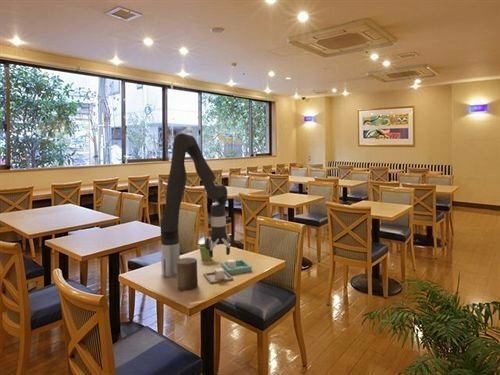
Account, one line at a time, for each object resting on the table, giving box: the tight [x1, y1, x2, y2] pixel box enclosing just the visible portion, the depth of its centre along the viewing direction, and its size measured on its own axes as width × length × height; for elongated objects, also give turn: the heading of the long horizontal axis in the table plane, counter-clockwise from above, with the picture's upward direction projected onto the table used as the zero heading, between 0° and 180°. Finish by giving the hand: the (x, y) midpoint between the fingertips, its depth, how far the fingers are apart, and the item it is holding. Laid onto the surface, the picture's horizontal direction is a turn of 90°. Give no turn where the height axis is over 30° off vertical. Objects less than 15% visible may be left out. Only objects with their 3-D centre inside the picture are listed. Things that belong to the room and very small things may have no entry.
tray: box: [202, 269, 234, 285], centre depth 182 cm, size 12×13×2 cm
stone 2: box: [226, 258, 236, 269], centre depth 193 cm, size 4×4×5 cm
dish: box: [220, 259, 253, 275], centre depth 194 cm, size 13×13×3 cm
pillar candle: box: [176, 257, 199, 292], centre depth 170 cm, size 10×10×15 cm
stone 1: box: [214, 267, 225, 280], centre depth 179 cm, size 4×4×5 cm
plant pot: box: [198, 243, 214, 262], centre depth 212 cm, size 9×9×9 cm
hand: (219, 255), depth 178 cm, fingers open, 8 cm apart
